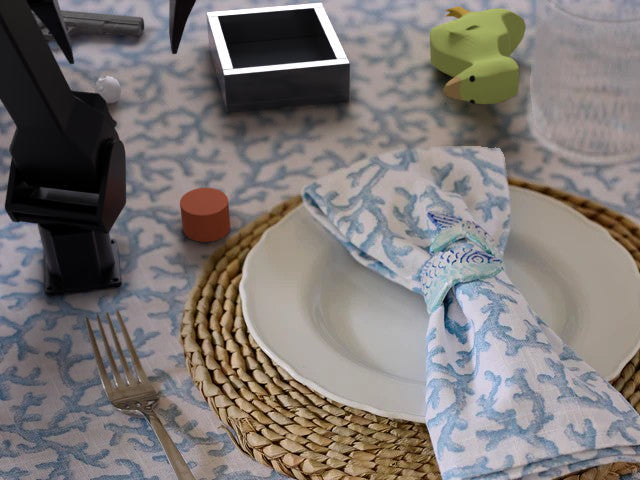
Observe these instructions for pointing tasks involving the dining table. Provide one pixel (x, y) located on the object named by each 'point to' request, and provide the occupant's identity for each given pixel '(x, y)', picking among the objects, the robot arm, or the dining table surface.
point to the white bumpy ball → (108, 88)
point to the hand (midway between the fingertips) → (123, 57)
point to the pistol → (96, 24)
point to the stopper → (205, 214)
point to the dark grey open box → (277, 57)
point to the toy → (478, 54)
